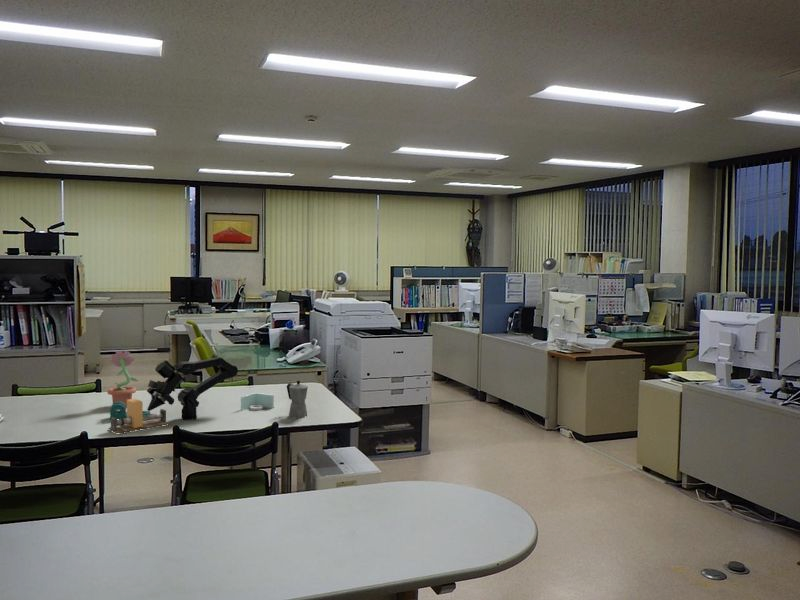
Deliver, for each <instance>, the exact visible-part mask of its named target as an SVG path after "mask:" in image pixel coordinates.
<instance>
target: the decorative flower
mask: <svg viewBox="0 0 800 600" xmlns="http://www.w3.org/2000/svg"><path fill="white" fill-rule="evenodd" d="M130 355H131V352H130V351H128V350H125V351H123V350H117V351H116V352H115V354H114V353H113V354H111V357H110V359H111V360H110V363H111V364H112V365H113V366H115V367H118V368H121V370H120V371H118V372H117V375H116V376H120V375H122V374H124V375H125V377H126V381H123V382H120V383H118V382H116V383H115V382H114V384H115V385H116V386H115V387H110V388H109V389H108V390H107V394H108V395H109V396H110V395H111V398H112V399H111V400H112V404H113V403H115V402H118V401H119V402H123V403H124V404H125V406H126V408H127V400H129V399H133V394H135V393H137V388H136V387H135V386H127V385H128V384H129V383H131V382H132V381H133V382H139V380H138V379H137V378H134V377H131V376H130V374H129V372H128V370H127V366H130V365H131V363H132V362H134V360H135V357H133V356H132V357H130Z"/></svg>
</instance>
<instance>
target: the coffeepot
mask: <svg viewBox="0 0 800 600" xmlns="http://www.w3.org/2000/svg"><path fill="white" fill-rule="evenodd" d="M286 391H287V395H288V399H289V400H291V403H290V406H289V407H290V408H289V413H288V415H289V417H290V418H293V417H296V418H295V419H300V417H302V418H306V417H308V410H307V404H306V398H307V394H308V385H305V384H301V381H300V380H297V381H296V384H294V383H291V382H290V383H287V385H286ZM305 416H306V417H305Z"/></svg>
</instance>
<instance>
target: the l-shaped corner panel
mask: <svg viewBox="0 0 800 600" xmlns="http://www.w3.org/2000/svg"><path fill="white" fill-rule="evenodd" d="M263 408H267V409H274V408H275V395H274V394H268V393H261V392H253V393H249V394H247V395H243V396H241V397H240V410H241V411H244V410H247V409H249V410H250V411H261V410H263Z"/></svg>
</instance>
